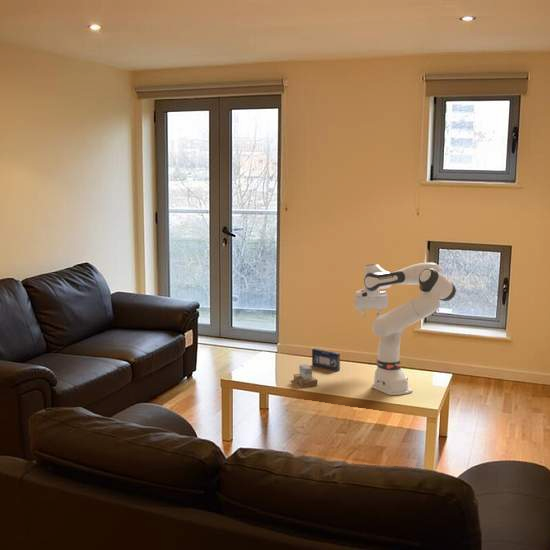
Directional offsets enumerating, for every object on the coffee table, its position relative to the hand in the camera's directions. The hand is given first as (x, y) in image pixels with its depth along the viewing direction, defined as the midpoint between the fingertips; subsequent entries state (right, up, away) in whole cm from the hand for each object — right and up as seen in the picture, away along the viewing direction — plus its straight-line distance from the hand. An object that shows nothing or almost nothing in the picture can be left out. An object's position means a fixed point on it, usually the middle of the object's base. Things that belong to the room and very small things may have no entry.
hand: (370, 316), depth 384 cm
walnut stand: (-38, -35, -19) cm, 55 cm away
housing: (-38, -32, -20) cm, 53 cm away
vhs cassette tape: (-25, -31, +8) cm, 40 cm away
